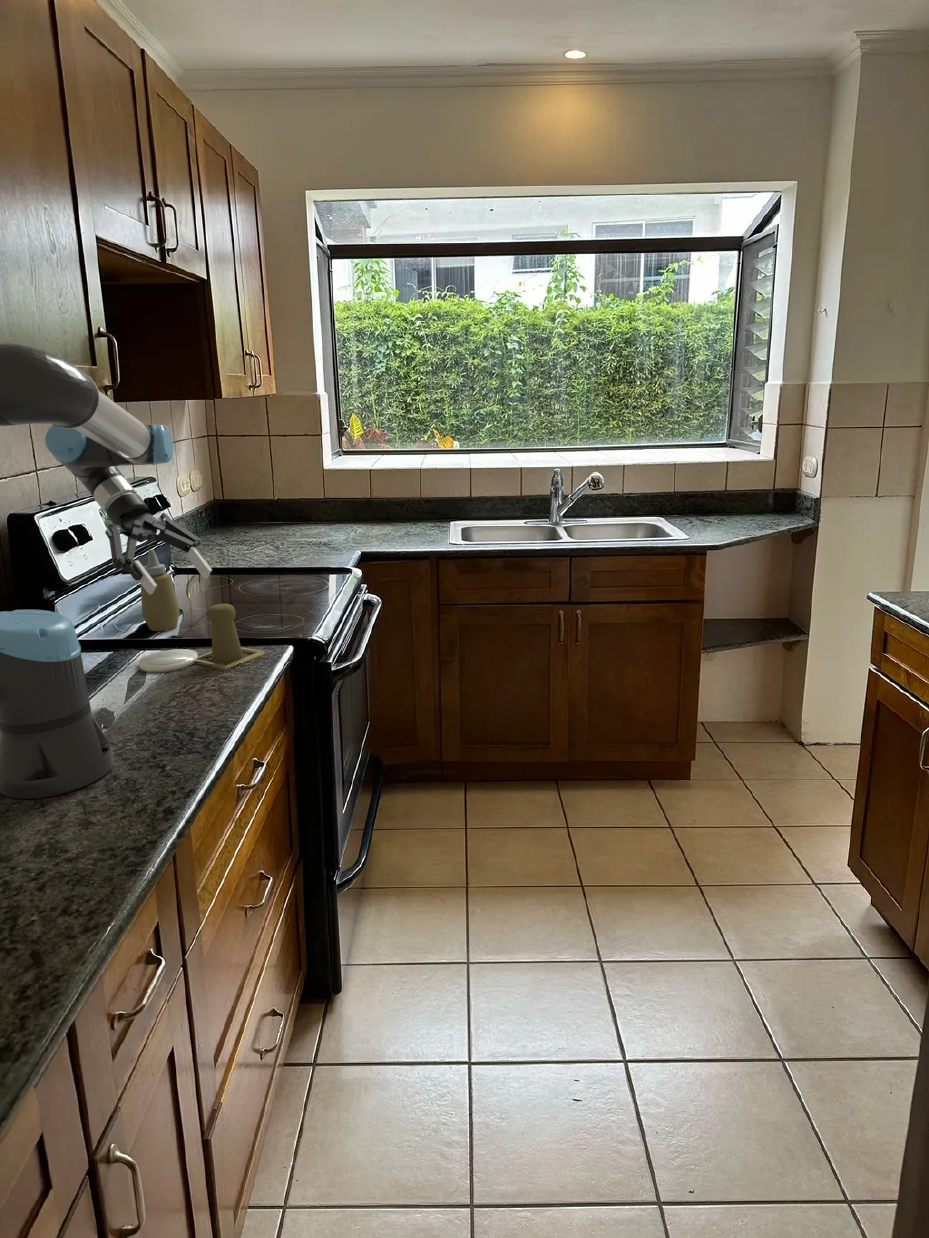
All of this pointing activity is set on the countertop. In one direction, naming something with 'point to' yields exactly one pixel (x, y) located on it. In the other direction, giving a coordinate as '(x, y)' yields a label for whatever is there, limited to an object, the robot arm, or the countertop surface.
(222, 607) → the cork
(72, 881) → the countertop surface
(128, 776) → the countertop surface
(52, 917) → the countertop surface
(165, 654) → the saucer
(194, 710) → the countertop surface
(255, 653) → the square frame
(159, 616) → the squeeze bottle
